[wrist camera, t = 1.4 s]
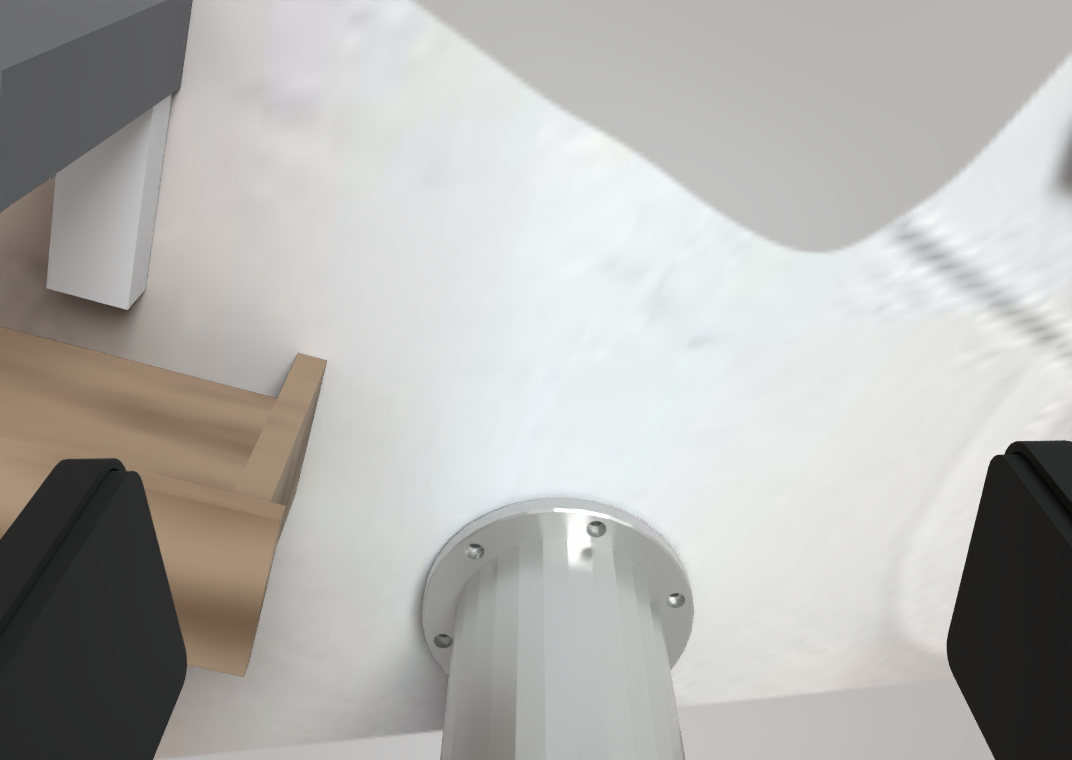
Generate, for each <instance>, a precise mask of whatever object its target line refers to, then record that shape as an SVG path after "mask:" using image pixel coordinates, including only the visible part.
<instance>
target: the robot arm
mask: <svg viewBox="0 0 1072 760" xmlns="http://www.w3.org/2000/svg"><path fill="white" fill-rule="evenodd" d="M693 616H694V607H693V599H692V591H691V588H690V584H689V580H688V576H687V572H686V569H685V568H684V566H683V564H682V562H681V560H680V558H679V556H678V554H677V553H676V551H675V550H674V549H673V548H672V546H671V545H670V544H669V543H668V542H667V541H666V540H665V538H664V537H663V536H662V535H661V534H660V533H658V532H657V531H656V530H655V529H653V528H652V527H651V526H649V525H648V524H647V523H645V522H644V521H643V520H641V519H639V518H637V517H635V516H633V515H631V514H629V513H627V512H625V511H623V510H621V509H618V508H615V507H612V506H608V505H605V504H602V503H599V502H595V501H588V500H581V499H573V498H544V499H536V500H530V501H525V502H520V503H514V504H512V505H509V506H506V507H503V508H501V509H498V510H495V511H492V512H490V513H488V514H486V515H484V516H483V517H481V518H479V519H477V520H476V521H474V522H472V523H470V524H469V525H467V526H466V527H465V528H464V529H463V530H461V531H460V532H459V533H458V534H457V535H456V536H454V537H453V538H452V539H451V540H450V541H449V542H448V543H447V545H446V546H445V547H444V549H443V550H442V551H441V552H440V554H439V555H438V556H437V558H436V560H435V562H434V564H433V566H432V568H431V570H430V572H429V575H428V577H427V581H426V586H425V591H424V596H423V606H422V624H423V629H424V635H425V639H426V641H427V644H428V646H429V648H430V650H431V653H432V655H433V657H434V658H435V660H436V661H437V662H438V664H439V665H440V667H441V668H442V669H443V671H444V672H445V673H446V674H447V675H448V676H449V679H448V689H447V699H446V709H445V719H444V729H443V738H442V748H441V759H440V760H685V755H684V749H683V743H682V737H681V732H680V725H679V719H678V713H677V707H676V701H675V695H674V689H673V683H672V677H671V671H670V670H671V669H672V668H673V667H674V666H675V664H676V663H677V661H678V659H679V658H680V656H681V655H682V653H683V652H684V650H685V648H686V645H687V642H688V640H689V637H690V634H691V632H692V625H693ZM947 656H948V661H949V665H950V668H951V671H952V673H953V676H954V678H955V680H956V682H957V684H958V686H959V688H960V690H961V692H962V694H963V696H964V697H965V700H966V701H967V704H968V706H969V708H970V709H971V712H972V714H973V716H974V718H975V720H976V722H977V724H978V726H979V728H980V730H981V732H982V734H983V736H984V738H985V740H986V742H987V744H988V746H989V748H990V750H991V752H992V754H993V756H994V758H995V760H1072V442H1071V441H1065V440H1063V441H1016V442H1014V443H1012V444H1010V446H1009V447H1008V448H1007V450H1006V452H1005V455H996V456H994V457H993V459H992V460H991V462H990V464H989V467H988V471H987V475H986V479H985V483H984V488H983V492H982V496H981V500H980V504H979V508H978V512H977V517H976V521H975V525H974V529H973V533H972V537H971V541H970V545H969V550H968V554H967V558H966V562H965V566H964V570H963V574H962V579H961V583H960V587H959V591H958V595H957V599H956V603H955V608H954V612H953V616H952V620H951V624H950V628H949V632H948V637H947ZM186 670H187V654H186V648H185V644H184V640H183V636H182V633H181V629H180V625H179V621H178V617H177V613H176V609H175V605H174V602H173V598H172V594H171V590H170V586H169V582H168V578H167V574H166V571H165V567H164V563H163V559H162V555H161V551H160V547H159V543H158V540H157V536H156V532H155V528H154V524H153V520H152V516H151V512H150V509H149V505H148V501H147V497H146V493H145V489H144V485H143V482H142V479H141V477H140V475H139V474H138V472H135V471H126V469H125V466H124V465H123V464H122V462H121V461H120V460H118V459H116V458H91V459H65V460H61V461H60V462H59V463H58V464H57V465H56V466H55V467H54V468H53V470H52V471H51V472H50V474H49V475H48V476H47V478H46V479H45V480H44V482H43V483H42V484H41V486H40V487H39V488H38V490H37V491H36V493H35V494H34V495H33V497H32V498H31V499H30V501H29V502H28V503H27V505H26V506H25V507H24V509H23V510H22V511H21V513H20V514H19V515H18V517H17V518H16V519H15V521H14V522H13V523H12V525H11V526H10V527H9V529H8V530H7V531H6V533H5V534H4V535H3V537H2V538H1V539H0V760H153V758H154V756H155V753H156V751H157V748H158V746H159V743H160V741H161V738H162V736H163V733H164V731H165V729H166V726H167V724H168V721H169V719H170V716H171V714H172V711H173V709H174V706H175V704H176V702H177V699H178V697H179V694H180V692H181V689H182V687H183V684H184V681H185V676H186Z"/></svg>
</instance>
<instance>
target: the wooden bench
mask: <svg viewBox="0 0 1072 760" xmlns="http://www.w3.org/2000/svg"><path fill="white" fill-rule="evenodd" d="M326 363H327V360H323V359H319V358H315V357H312V356H308V355H304V354H300V353H298V355H297V357H296V359H295V361H294V363H293V365H292V367H291V370H290V372H289V374H288V376H287V378H286V380H285V383H284V385H283V387H282V389H281V391H280V393H279V396H278V398H274V397H270V396H266V395H262V394H258V393H254V392H250V391H247V390H243V389H239V388H235V387H231V386H227V385H223V384H220V383H216V382H212V381H208V380H204V379H200V378H197V377H193V376H189V375H185V374H181V373H177V372H173V371H170V370H166V369H162V368H158V367H154V366H150V365H147V364H143V363H139V362H135V361H131V360H127V359H123V358H120V357H116V356H112V355H108V354H104V353H100V352H97V351H93V350H89V349H85V348H81V347H77V346H73V345H70V344H66V343H62V342H58V341H54V340H50V339H47V338H43V337H39V336H35V335H31V334H27V333H23V332H20V331H16V330H12V329H8V328H4V327H0V539H1V538H2V537H3V535H4V534H5V533H6V531H7V530H8V529H9V527H10V526H11V525H12V523H13V522H14V521H15V519H16V518H17V517H18V515H19V514H20V513H21V511H22V510H23V509H24V507H25V506H26V505H27V503H28V502H29V501H30V499H31V498H32V497H33V495H34V494H35V493H36V491H37V490H38V488H39V487H40V486H41V484H42V483H43V482H44V480H45V479H46V478H47V476H48V475H49V474H50V472H51V471H52V470H53V468H54V467H55V466H56V465H57V464H58V463H59V462H60V461H61V460H65V459H91V458H116V459H118V460H120V461H121V462H122V464H123V465H124V466H125V469H126V471H135V472H138V474H139V475H140V477H141V479H142V482H143V485H144V489H145V493H146V497H147V501H148V505H149V509H150V512H151V516H152V520H153V524H154V528H155V532H156V536H157V540H158V543H159V547H160V551H161V555H162V559H163V563H164V567H165V571H166V574H167V578H168V582H169V586H170V590H171V594H172V598H173V602H174V605H175V609H176V613H177V617H178V621H179V625H180V629H181V633H182V636H183V640H184V644H185V648H186V654H187V665H190V666H195V667H199V668H204V669H209V670H213V671H218V672H222V673H227V674H231V675H236V676H241V677H244V675H245V673H246V670H247V667H248V664H249V661H250V657H251V653H252V648H253V644H254V640H255V636H256V631H257V627H258V623H259V619H260V614H261V610H262V606H263V601H264V597H265V593H266V589H267V584H268V580H269V576H270V571H271V567H272V563H273V559H274V554H275V550H276V546H277V543H278V540H279V538H280V535H281V532H282V530H283V527H284V524H285V521H286V519H287V516H288V513H289V510H290V508H291V505H292V502H293V500H294V497H295V494H296V489H297V485H298V481H299V477H300V473H301V468H302V464H303V460H304V456H305V452H306V447H307V443H308V439H309V435H310V431H311V426H312V422H313V418H314V414H315V409H316V405H317V401H318V397H319V393H320V388H321V384H322V380H323V376H324V372H325V367H326Z"/></svg>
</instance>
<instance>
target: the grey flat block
mask: <svg viewBox="0 0 1072 760" xmlns="http://www.w3.org/2000/svg"><path fill="white" fill-rule="evenodd" d="M191 7H192V0H0V212H1V211H3V210H4V209H6V208H7V207H9V206H10V205H12V204H13V203H14V202H16V201H17V200H19V199H20V198H22V197H23V196H25V195H26V194H28V193H29V192H30V191H32V190H33V189H35V188H36V187H38V186H39V185H41V184H42V183H43V182H45V181H46V180H48V179H49V178H51V177H52V176H54V175H55V174H56V178H55V190H54V202H53V214H52V225H51V237H50V249H49V261H48V273H47V285H46V288H47V289H51V290H55V291H58V292H62V293H66V294H70V295H73V296H77V297H81V298H85V299H88V300H92V301H96V302H100V303H103V304H107V305H111V306H115V307H118V308H122V309H126V310H128V309H129V308H130V307H131V305H132V304H133V303H134V302H135V301H136V300H137V299H138V297H139V296H140V295H141V294H142V293H143V292H144V291H145V289H146V283H147V276H148V268H149V261H150V254H151V246H152V239H153V232H154V224H155V217H156V209H157V202H158V195H159V187H160V180H161V172H162V165H163V158H164V150H165V143H166V136H167V128H168V121H169V113H170V106H171V99H172V93H174V92H175V91H177V90H178V89H180V86H181V79H182V72H183V65H184V57H185V50H186V43H187V36H188V29H189V21H190V14H191Z"/></svg>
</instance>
